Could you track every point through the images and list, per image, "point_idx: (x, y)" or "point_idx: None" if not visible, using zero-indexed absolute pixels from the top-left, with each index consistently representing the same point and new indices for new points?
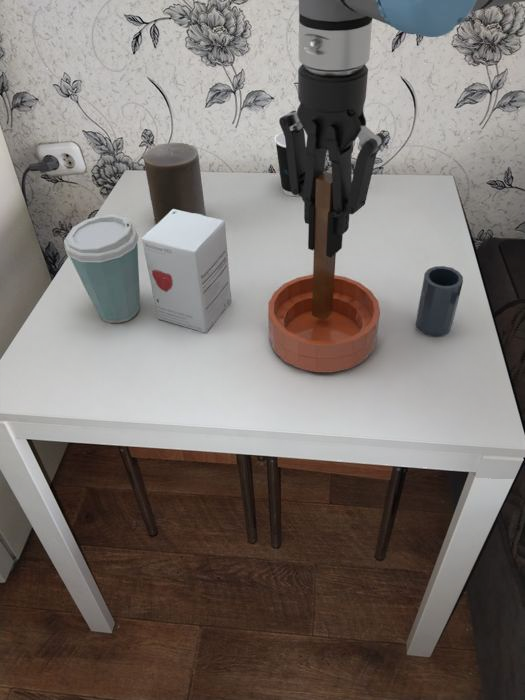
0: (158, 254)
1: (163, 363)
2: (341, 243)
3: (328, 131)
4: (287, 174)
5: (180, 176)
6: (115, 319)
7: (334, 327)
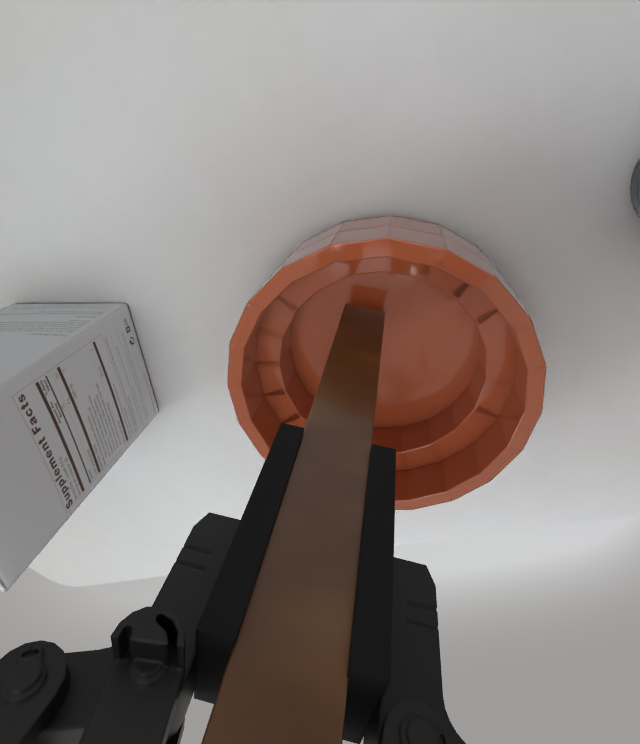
0: None
1: (154, 488)
2: (394, 471)
3: None
4: None
5: None
6: None
7: (401, 319)
